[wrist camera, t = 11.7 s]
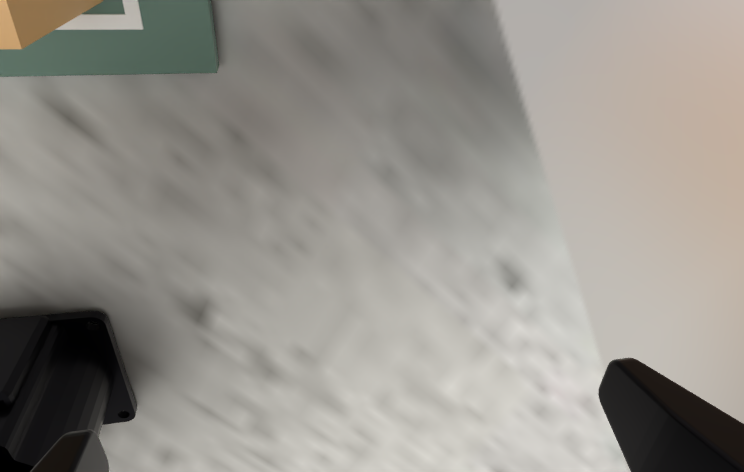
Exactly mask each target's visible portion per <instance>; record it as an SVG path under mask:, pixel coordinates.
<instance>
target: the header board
mask: <svg viewBox="0 0 744 472" xmlns="http://www.w3.org/2000/svg"><path fill="white" fill-rule="evenodd" d="M218 66H219V62H218V54H217V46H216V38H215V30H214V22H213V14H212V6H211V0H103V1H102V2H101V3H99V4H97V5H96V6H94V7H92V8H91V9H89V10H87V11H86V12H84V13H82V14H80V15H79V16H77V17H75V18H74V19H72V20H70V21H69V22H67V23H65V24H64V25H62V26H60V27H59V28H57V29H55V30H54V31H52V32H50V33H48V34H47V35H45V36H43V37H42V38H40V39H38V40H37V41H35V42H33V43H32V44H30V45H28V46H27V47H25V48H23V49H0V77H9V76H66V75H123V74H180V73H217V71H218Z"/></svg>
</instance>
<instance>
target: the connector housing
mask: <svg viewBox="0 0 744 472" xmlns="http://www.w3.org/2000/svg"><path fill="white" fill-rule="evenodd" d="M102 1H103V0H0V49H23V48H25V47H27V46H28V45H30V44H32V43H33V42H35V41H37V40H38V39H40V38H42V37H43V36H45V35H47V34H48V33H50V32H52V31H54V30H55V29H57V28H59V27H60V26H62V25H64V24H65V23H67V22H69V21H70V20H72V19H74V18H75V17H77V16H79V15H80V14H82V13H84V12H86V11H87V10H89V9H91V8H92V7H94V6H96V5H97V4H99V3H101V2H102Z"/></svg>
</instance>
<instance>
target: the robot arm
mask: <svg viewBox="0 0 744 472" xmlns="http://www.w3.org/2000/svg"><path fill="white" fill-rule="evenodd" d="M90 322H96V323H98V324H97V325H96V324H92V323H90ZM599 399H600V402H601V405H602V407H603V409H604V412H605V414H606V416H607V419H608V421H609V423H610V425H611V428H612V430H613V432H614V434H615V437H616V439H617V441H618V443H619V446H620V448H621V450H622V453H623V455H624V457H625V459H626V462H627V464H628V466H629V468H630V470H631V472H744V424H743V423H741V422H739V421H738V420H736V419H734V418H733V417H731V416H730V415H728V414H726V413H724V412H723V411H721V410H720V409H718V408H716V407H715V406H713V405H711V404H710V403H708V402H706V401H705V400H703V399H701V398H700V397H698V396H696V395H695V394H693V393H691V392H690V391H688V390H686V389H685V388H683V387H681V386H680V385H678V384H676V383H675V382H673V381H671V380H670V379H668V378H666V377H665V376H663V375H661V374H660V373H658V372H656V371H655V370H653V369H651V368H650V367H648V366H646V365H645V364H643V363H641V362H640V361H638V360H636V359H633V358H624V359H616V360H613V361H611V362H610V363H609V365H608V367H607V369H606V372H605V374H604V377H603V379H602V382H601V384H600V387H599ZM136 411H137V405H136V402H135V399H134V396H133V393H132V390H131V387H130V384H129V381H128V378H127V375H126V371H125V368H124V365H123V362H122V359H121V356H120V353H119V350H118V347H117V344H116V341H115V338H114V335H113V332H112V329H111V325H110V322H109V319H108V317H107V316H106V315H105V314H104V313H102V312H99V311H83V312H73V313H62V314H51V315H40V316H30V317H19V318H8V319H0V472H109V464H108V460H107V457H106V454H105V452H104V450H103V447H102V445H101V442H100V440H99V434H100V430H101V427H102V425H103V424H111V423H119V422H126V421H130V420H132V419H134V417H135V415H136Z"/></svg>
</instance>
